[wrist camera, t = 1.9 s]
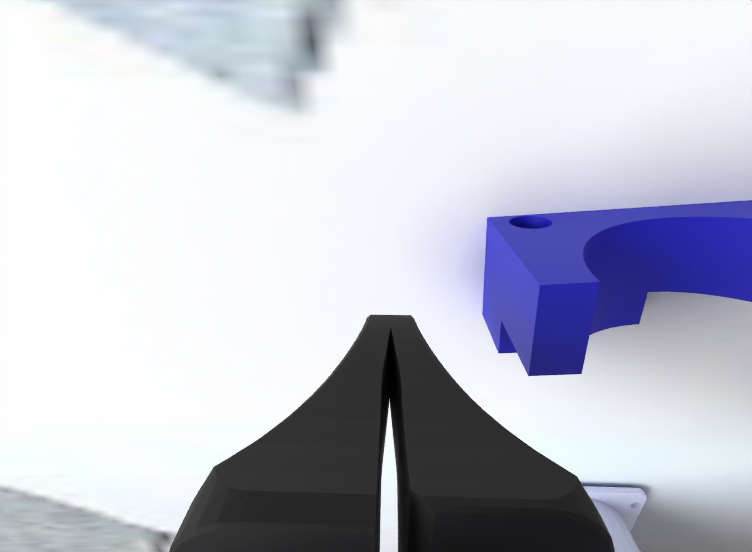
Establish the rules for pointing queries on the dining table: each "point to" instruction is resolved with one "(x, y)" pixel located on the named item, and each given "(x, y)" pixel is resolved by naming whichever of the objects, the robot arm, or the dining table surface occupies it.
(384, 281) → the dining table surface
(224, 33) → the dining table surface
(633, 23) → the dining table surface
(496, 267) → the blue stepped block
